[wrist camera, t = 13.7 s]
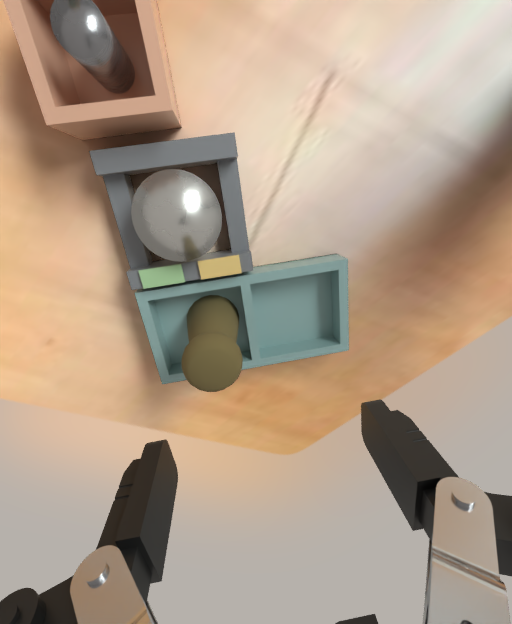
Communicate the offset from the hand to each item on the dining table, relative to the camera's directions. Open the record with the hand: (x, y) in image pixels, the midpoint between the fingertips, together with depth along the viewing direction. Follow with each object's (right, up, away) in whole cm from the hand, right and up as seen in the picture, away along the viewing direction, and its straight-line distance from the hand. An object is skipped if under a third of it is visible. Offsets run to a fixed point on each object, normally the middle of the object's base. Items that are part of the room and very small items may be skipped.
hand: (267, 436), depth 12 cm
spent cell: (-12, +25, +13) cm, 31 cm away
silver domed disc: (-8, +15, +17) cm, 24 cm away
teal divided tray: (-1, +5, +23) cm, 23 cm away
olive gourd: (-5, +4, +22) cm, 23 cm away
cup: (-12, +25, +13) cm, 31 cm away
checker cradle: (-8, +15, +18) cm, 25 cm away
